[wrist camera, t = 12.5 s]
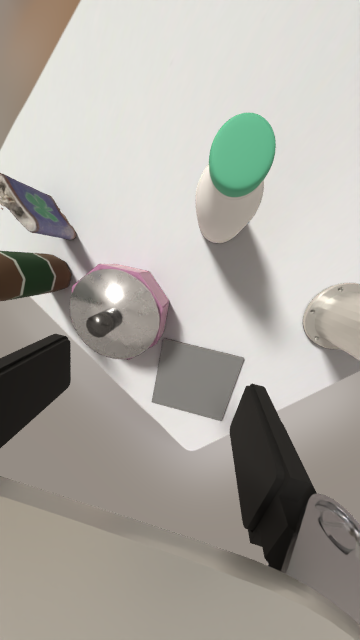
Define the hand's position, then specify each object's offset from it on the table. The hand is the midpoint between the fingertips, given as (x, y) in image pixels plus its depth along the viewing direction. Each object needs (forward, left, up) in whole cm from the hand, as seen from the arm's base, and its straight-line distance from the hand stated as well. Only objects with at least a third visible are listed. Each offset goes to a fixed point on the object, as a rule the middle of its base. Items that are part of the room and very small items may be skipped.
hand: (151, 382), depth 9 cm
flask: (+29, -9, -29) cm, 42 cm away
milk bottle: (-2, -14, -28) cm, 32 cm away
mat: (-5, +20, -28) cm, 35 cm away
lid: (+13, +6, -22) cm, 26 cm away
